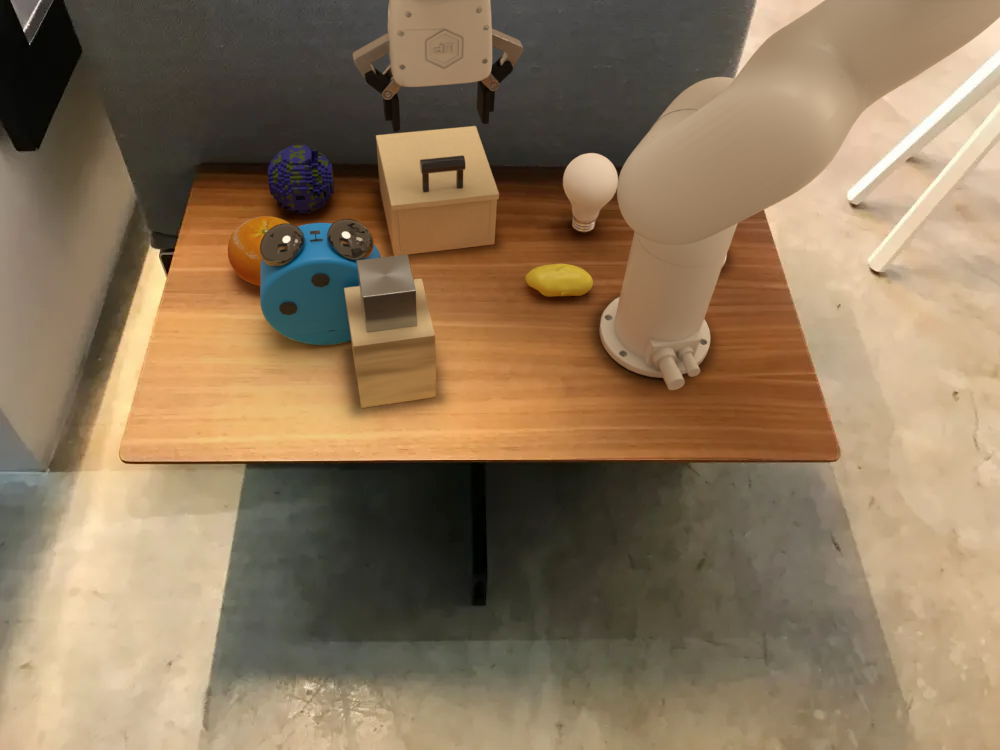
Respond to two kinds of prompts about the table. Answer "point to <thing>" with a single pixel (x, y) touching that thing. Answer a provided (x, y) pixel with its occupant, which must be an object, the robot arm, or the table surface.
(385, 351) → the block
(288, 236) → the alarm clock
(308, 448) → the table surface
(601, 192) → the light bulb
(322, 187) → the ball
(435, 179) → the wooden box lid
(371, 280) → the steel block
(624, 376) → the table surface
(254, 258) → the fruit
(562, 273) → the yellow potato
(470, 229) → the open storage bin
